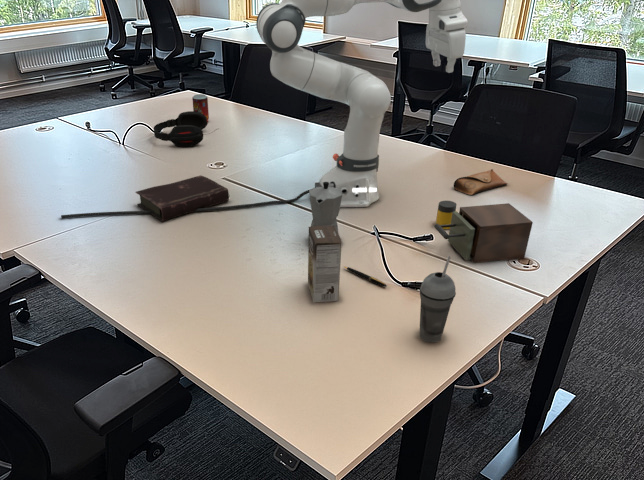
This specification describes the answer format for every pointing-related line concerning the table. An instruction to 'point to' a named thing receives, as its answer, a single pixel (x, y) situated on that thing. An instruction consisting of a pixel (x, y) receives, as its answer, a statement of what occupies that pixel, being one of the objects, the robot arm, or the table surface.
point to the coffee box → (324, 263)
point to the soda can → (201, 104)
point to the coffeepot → (325, 204)
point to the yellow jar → (445, 212)
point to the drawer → (460, 234)
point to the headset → (183, 129)
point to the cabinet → (498, 232)
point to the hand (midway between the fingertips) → (443, 68)
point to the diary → (182, 197)
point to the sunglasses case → (478, 182)
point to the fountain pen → (367, 277)
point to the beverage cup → (435, 304)
